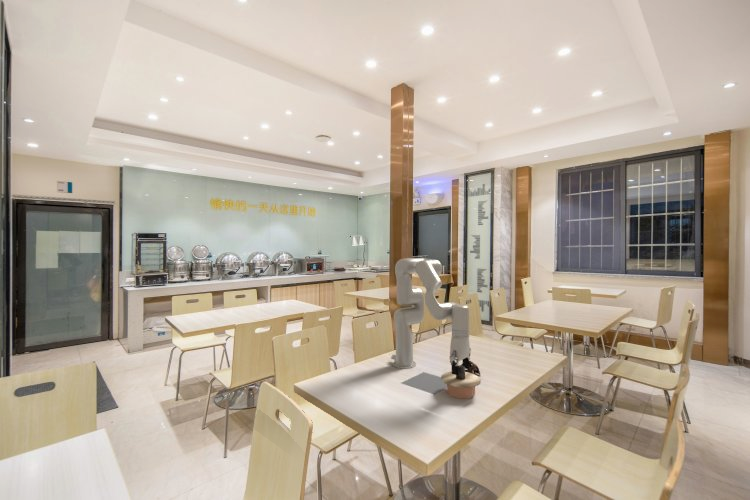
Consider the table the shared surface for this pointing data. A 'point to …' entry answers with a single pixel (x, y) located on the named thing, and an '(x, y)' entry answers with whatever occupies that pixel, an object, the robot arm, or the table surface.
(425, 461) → the table surface
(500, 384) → the table surface
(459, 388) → the bowl
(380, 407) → the table surface
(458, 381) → the lid
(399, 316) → the robot arm
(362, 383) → the table surface
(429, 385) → the mat
